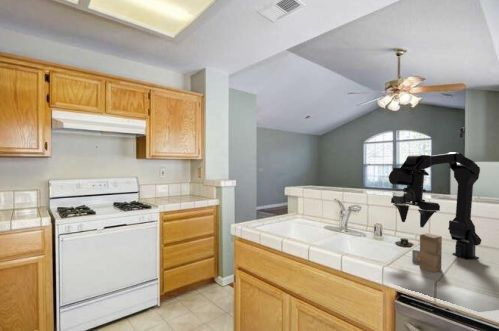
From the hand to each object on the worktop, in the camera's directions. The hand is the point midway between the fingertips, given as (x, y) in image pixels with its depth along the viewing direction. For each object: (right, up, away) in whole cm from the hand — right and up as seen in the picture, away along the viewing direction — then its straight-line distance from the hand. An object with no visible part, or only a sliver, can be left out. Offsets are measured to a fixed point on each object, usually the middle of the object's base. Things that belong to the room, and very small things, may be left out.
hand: (412, 224), depth 107 cm
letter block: (+4, -15, +1) cm, 15 cm away
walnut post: (+2, -15, -8) cm, 17 cm away
